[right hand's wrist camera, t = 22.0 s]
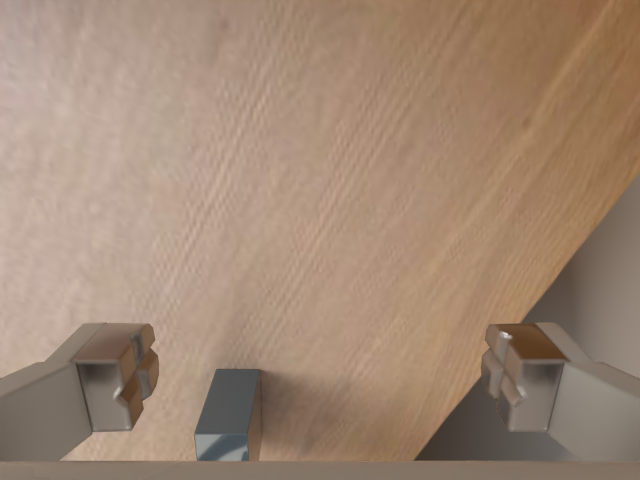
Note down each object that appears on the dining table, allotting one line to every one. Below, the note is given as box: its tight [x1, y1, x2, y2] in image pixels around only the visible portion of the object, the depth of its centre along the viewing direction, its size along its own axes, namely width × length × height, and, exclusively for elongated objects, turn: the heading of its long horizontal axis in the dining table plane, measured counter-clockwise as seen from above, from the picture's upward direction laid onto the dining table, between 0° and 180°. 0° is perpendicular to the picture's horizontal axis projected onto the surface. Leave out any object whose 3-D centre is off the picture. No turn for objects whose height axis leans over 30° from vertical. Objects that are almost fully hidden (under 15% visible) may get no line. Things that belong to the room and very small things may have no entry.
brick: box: [194, 369, 262, 461], centre depth 40 cm, size 4×9×8 cm, turn 179°
